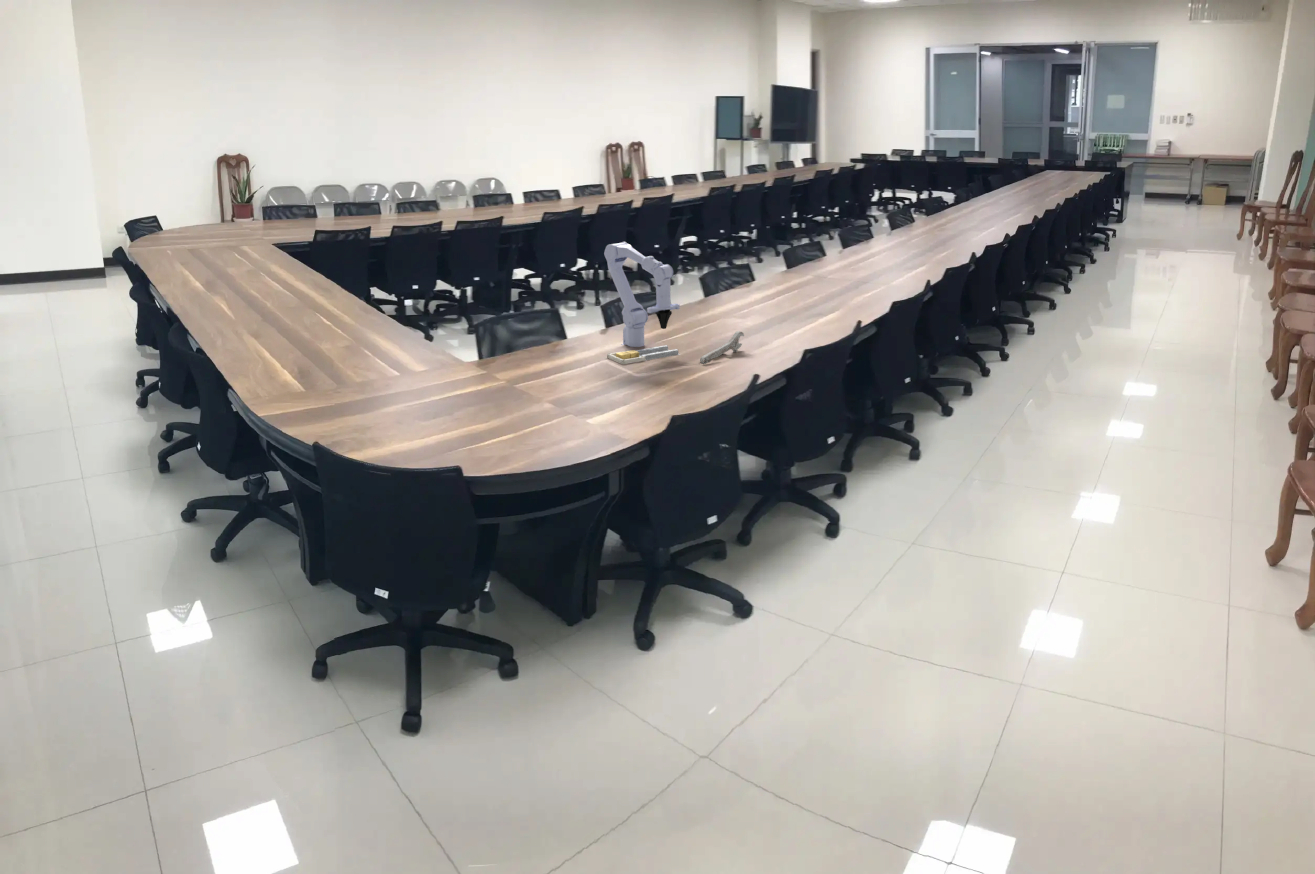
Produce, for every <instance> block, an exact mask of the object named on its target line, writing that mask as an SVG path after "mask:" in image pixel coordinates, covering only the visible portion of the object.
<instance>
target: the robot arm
mask: <svg viewBox="0 0 1315 874" xmlns="http://www.w3.org/2000/svg"><path fill="white" fill-rule="evenodd" d="M603 254H604V257H605V259H606V262H607V269H608V271H609V275H610V276H611V279H612V281H613V283H614V286H615V288H616V290H617V292H618V295H619V298H620V300H621V303H622V304H623V308H622V311H621V315H622V321H623V324H624V327H623V330H622V344H620V345H622V346H624V345H626V346H627V347H631V348H639V347H644V346H645V326H646V323H647V322H648V319H649V314H653V313H655V315H656V317H657V319H658V322H659V326H660V329H663V330H666V329H667V326H668V323H669V320H670V318H671V316H672V314H673V312H672V310H680V309H681V308H680V304H679V303H671V278H673V276H674V269H673V267H672V266H671V265H670V264H668V263H666V264H663V262H662V261H658V260H657V259H655V257H654V256H653V255H649V256H645V255H643V254H642V253H641V252H639V251H638V250H636V249H635V248H634V247H633V246H632V245H631V244H629V243H627V242H626V241H622V242H619V243H611V244H610V243H609V244H607V245H606V246H605V249H604V253H603ZM628 259H631V261H634V262H636V263H638V264H640V265H641V268H642V270H645V272H648V273H649V274H650V275H652V276H653V278H654V283H655V288H656V289H655V293H656V295H655V297H656V300H655V301H656V304H655V305H653V306H650V307H647V308H646V309H644V306H643V305H642V304H641V303H639V302H638V301H637V300H636V298H635V295H634V293H633V291H632V288H631V285H630V284H629V281H628V278H627V276H626V274H625V272H624V268H623V265H624V264H625V262H626V261H627V260H628Z"/></svg>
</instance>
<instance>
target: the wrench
mask: <svg viewBox="0 0 1315 874" xmlns="http://www.w3.org/2000/svg"><path fill="white" fill-rule="evenodd" d="M741 337H745V334H744V332H742V331H739V330H737V331H735V332H734V334H733V335H732V337H730V339H729V340H728V341H727V342H726V343H723V344H722V345H720V346H719V347H717V348H715V349H713V350H711V351H710V352H707V353H706V354H703V355H702V356H700V358H699V362H700V364H701V365H706V364H708V363H710V362H712V359H716V358H718V357H720V356H721V355H723V354H725V353H727V352H729V351H730V350H731V351H732V353H737V352H738V350H739V349H740V348H741V347H742V346H743V343H740V342H739V341H740V338H741Z"/></svg>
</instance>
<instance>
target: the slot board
mask: <svg viewBox="0 0 1315 874" xmlns="http://www.w3.org/2000/svg"><path fill="white" fill-rule="evenodd" d="M635 351H637V352H639V357H642V356H645V361H650V360H656V359H662V358H667V357H675V356H680V355H681V353H679V349H677V348H674V349H669V345H667V344H664V345H660V346H654V347H648V348H642V349H641V348H640V349H636V350H635ZM645 361H644V362H645Z"/></svg>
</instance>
